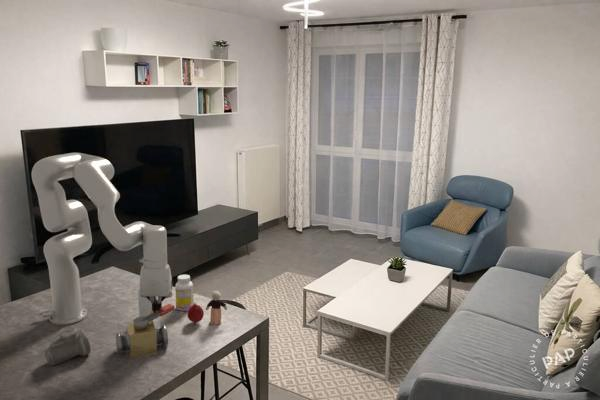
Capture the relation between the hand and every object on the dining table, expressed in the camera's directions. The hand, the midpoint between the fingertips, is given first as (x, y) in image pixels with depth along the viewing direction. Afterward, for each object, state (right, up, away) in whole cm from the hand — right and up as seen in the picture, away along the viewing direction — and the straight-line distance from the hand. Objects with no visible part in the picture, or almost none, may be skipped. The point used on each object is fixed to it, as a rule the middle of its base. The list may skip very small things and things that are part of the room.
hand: (157, 312), depth 165 cm
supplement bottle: (+4, -3, +22) cm, 22 cm away
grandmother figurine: (+19, -7, +10) cm, 22 cm away
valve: (-2, -10, -8) cm, 13 cm away
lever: (+1, -1, -5) cm, 6 cm away
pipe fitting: (-24, -11, -15) cm, 30 cm away
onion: (+11, -6, +10) cm, 16 cm away
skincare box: (-7, -5, +13) cm, 16 cm away
